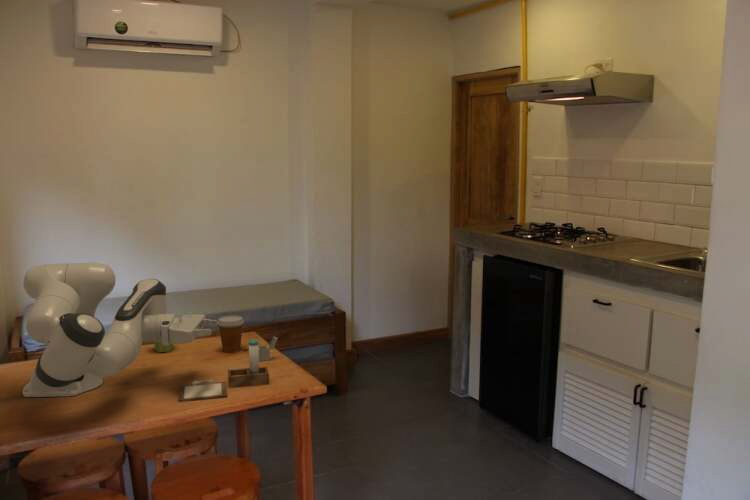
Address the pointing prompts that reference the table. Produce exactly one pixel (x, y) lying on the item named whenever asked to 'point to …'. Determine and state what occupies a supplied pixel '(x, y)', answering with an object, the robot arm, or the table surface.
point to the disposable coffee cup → (230, 332)
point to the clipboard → (202, 390)
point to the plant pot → (162, 347)
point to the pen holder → (247, 377)
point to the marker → (254, 356)
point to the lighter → (266, 350)
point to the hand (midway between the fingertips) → (214, 327)
